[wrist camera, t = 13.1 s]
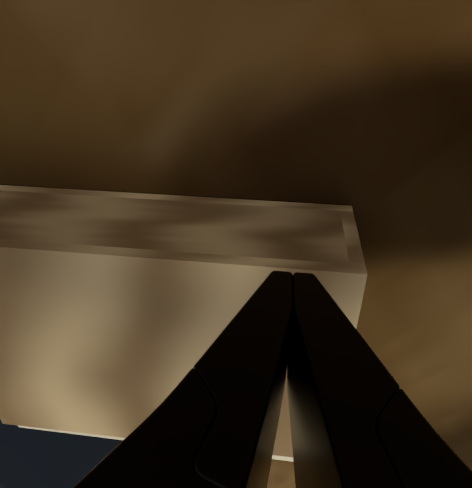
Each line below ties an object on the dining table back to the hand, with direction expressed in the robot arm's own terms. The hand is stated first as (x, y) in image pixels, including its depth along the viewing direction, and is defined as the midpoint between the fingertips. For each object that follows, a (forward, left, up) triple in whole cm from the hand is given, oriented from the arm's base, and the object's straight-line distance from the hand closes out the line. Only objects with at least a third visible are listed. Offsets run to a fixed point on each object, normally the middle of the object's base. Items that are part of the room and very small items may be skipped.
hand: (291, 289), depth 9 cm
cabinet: (+6, +10, -12) cm, 17 cm away
